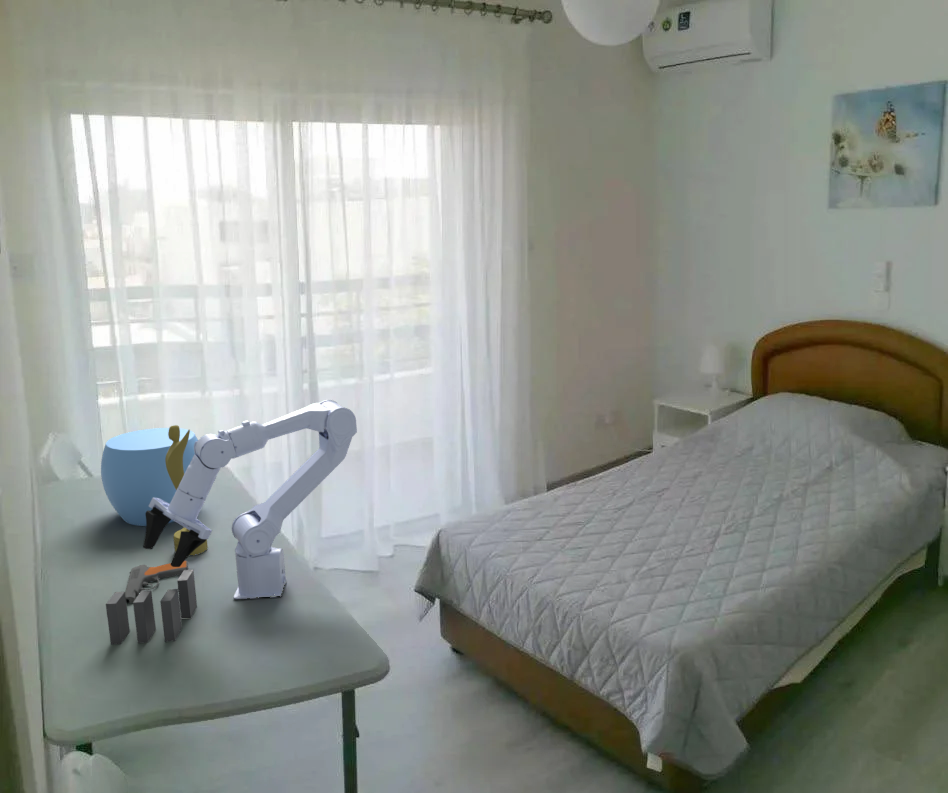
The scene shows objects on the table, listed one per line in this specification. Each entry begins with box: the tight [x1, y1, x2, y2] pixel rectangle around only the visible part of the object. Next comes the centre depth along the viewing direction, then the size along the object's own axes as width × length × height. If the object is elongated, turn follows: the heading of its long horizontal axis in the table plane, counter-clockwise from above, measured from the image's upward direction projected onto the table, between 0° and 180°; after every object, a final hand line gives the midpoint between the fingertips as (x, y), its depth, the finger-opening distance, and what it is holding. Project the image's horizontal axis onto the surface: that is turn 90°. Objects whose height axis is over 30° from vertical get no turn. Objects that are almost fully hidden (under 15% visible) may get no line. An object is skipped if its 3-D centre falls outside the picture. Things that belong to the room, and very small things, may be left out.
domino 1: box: [132, 589, 157, 644], centre depth 153 cm, size 2×5×8 cm, turn 4°
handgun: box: [124, 560, 189, 604], centre depth 176 cm, size 2×16×12 cm
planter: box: [100, 427, 199, 527], centre depth 215 cm, size 25×25×20 cm
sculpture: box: [165, 424, 209, 556], centre depth 190 cm, size 11×7×30 cm, turn 42°
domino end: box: [105, 591, 131, 645], centre depth 153 cm, size 2×5×8 cm, turn 4°
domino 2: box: [159, 588, 183, 643], centre depth 153 cm, size 2×5×8 cm, turn 4°
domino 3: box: [177, 569, 198, 619], centre depth 162 cm, size 2×5×8 cm, turn 4°
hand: (161, 557), depth 161 cm, fingers open, 7 cm apart
